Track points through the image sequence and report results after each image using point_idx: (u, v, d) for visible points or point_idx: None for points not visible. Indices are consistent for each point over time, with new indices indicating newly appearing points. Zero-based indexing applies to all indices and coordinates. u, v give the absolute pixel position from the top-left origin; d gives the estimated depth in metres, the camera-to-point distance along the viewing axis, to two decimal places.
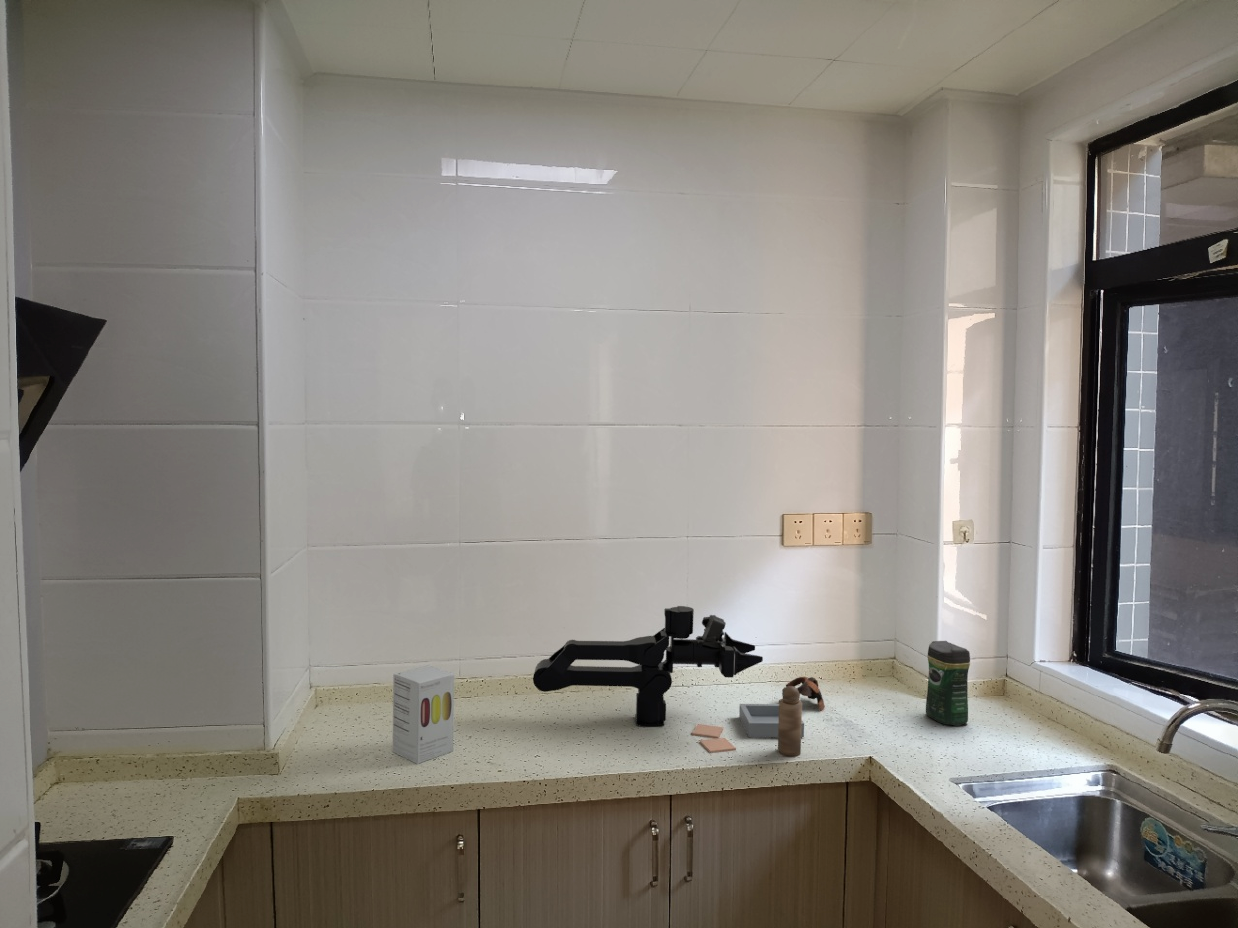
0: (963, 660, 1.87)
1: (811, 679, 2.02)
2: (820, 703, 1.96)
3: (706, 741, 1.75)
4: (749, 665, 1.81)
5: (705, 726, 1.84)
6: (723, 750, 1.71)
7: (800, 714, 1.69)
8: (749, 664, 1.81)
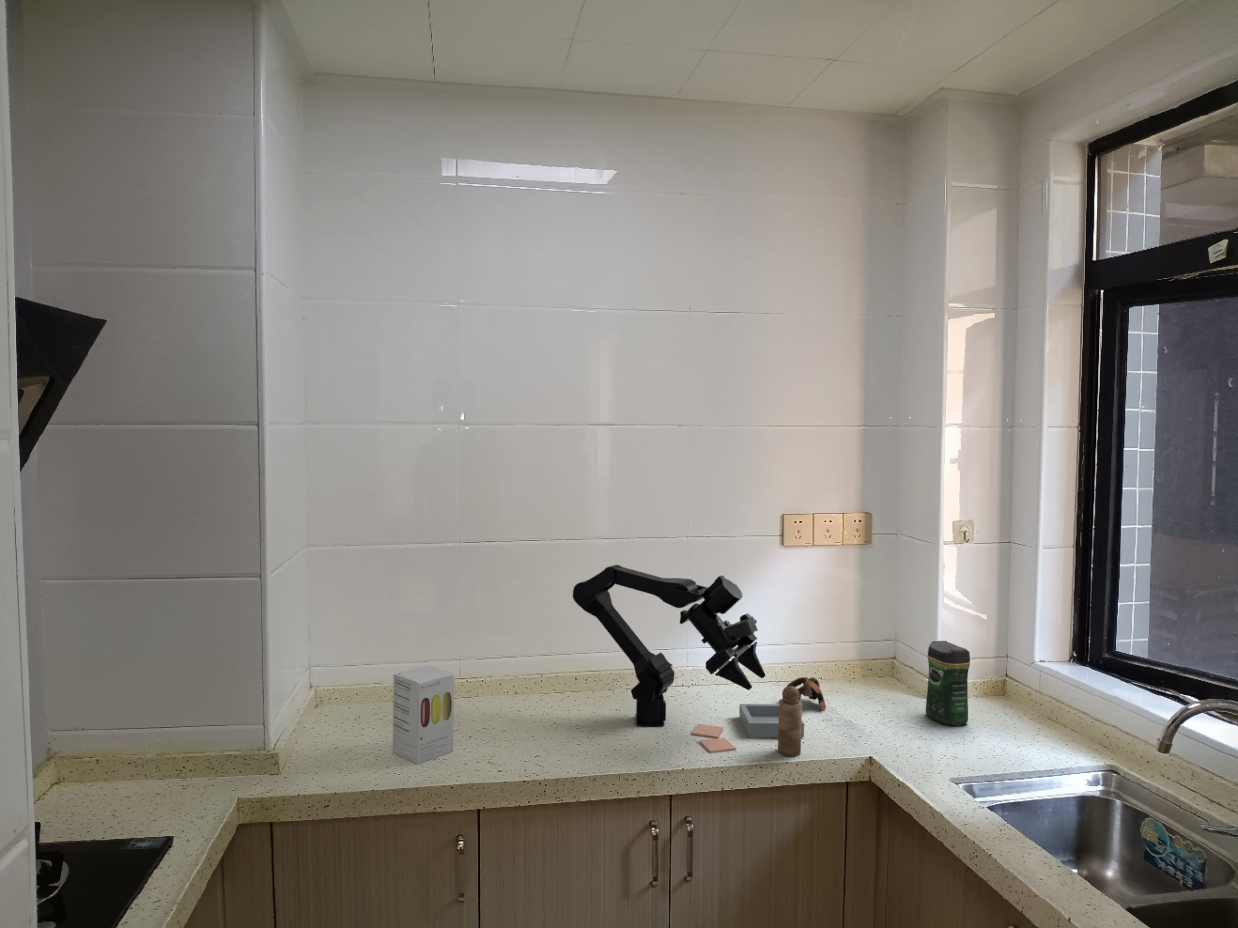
0: (963, 660, 1.87)
1: (812, 679, 2.02)
2: (821, 703, 1.96)
3: (706, 741, 1.75)
4: (734, 681, 1.70)
5: (705, 726, 1.84)
6: (723, 750, 1.71)
7: (800, 714, 1.69)
8: (735, 680, 1.70)
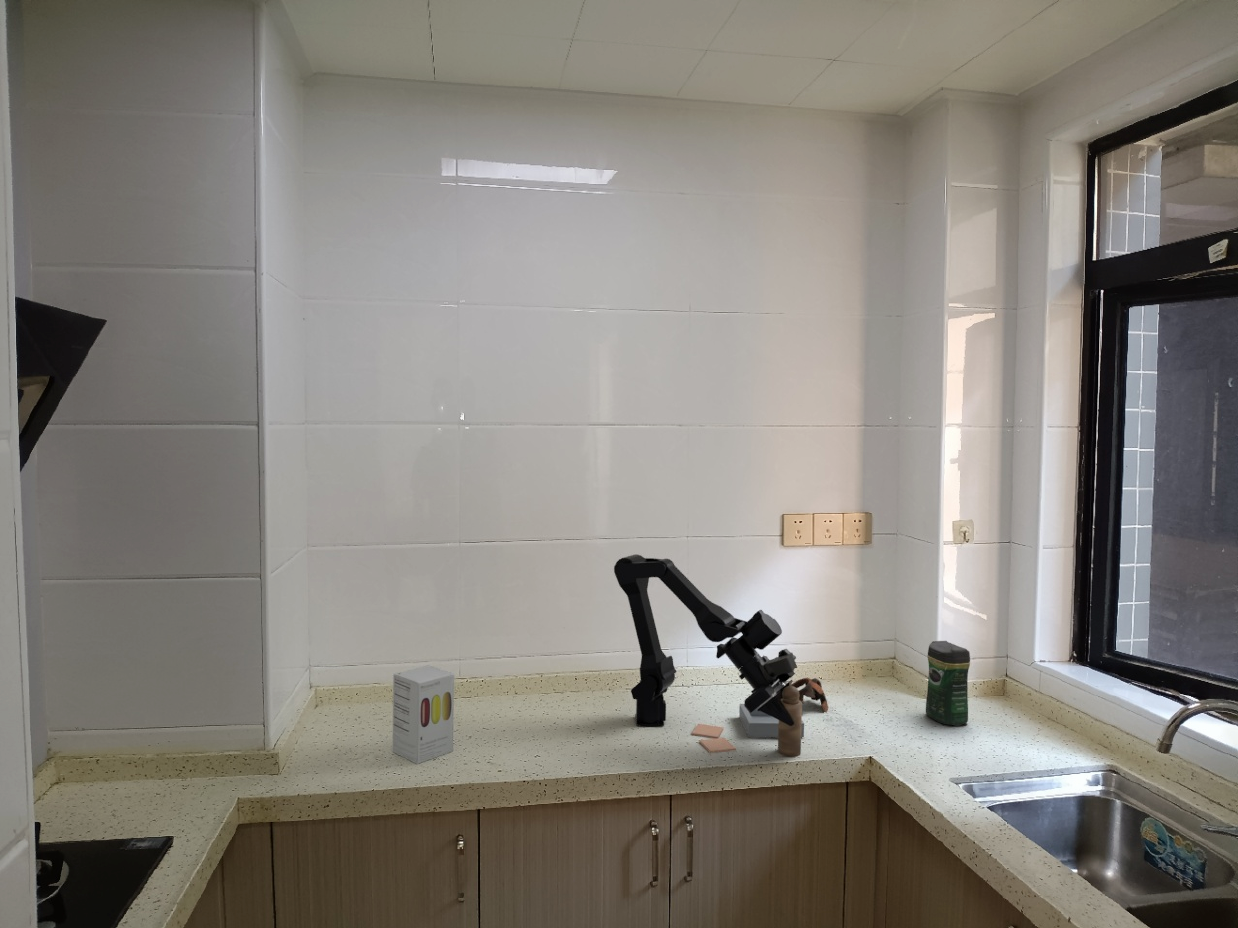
0: (963, 660, 1.87)
1: (814, 680, 2.02)
2: (824, 704, 1.95)
3: (706, 741, 1.75)
4: (777, 717, 1.68)
5: (705, 726, 1.84)
6: (723, 750, 1.71)
7: (800, 714, 1.69)
8: (777, 716, 1.68)
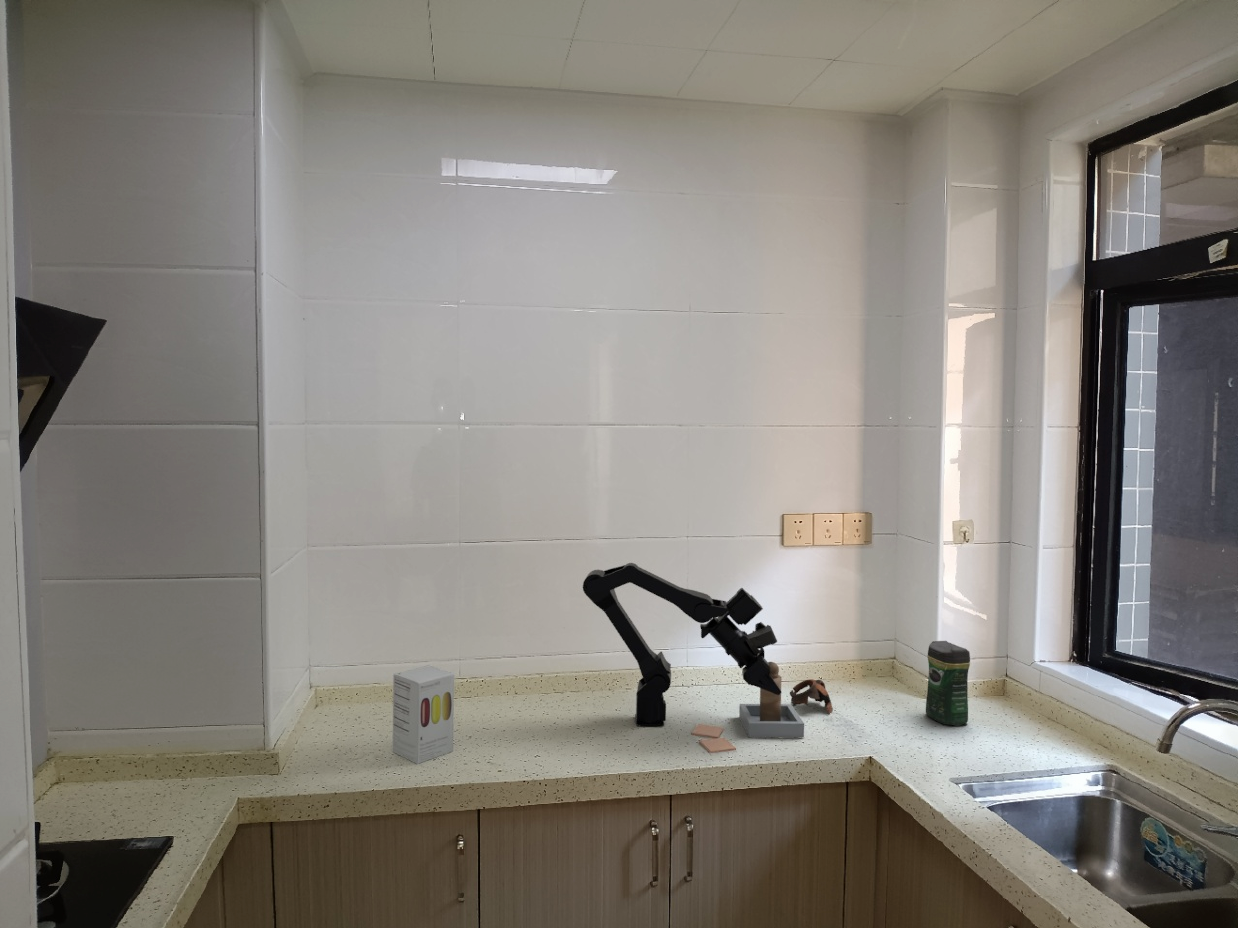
0: (963, 660, 1.87)
1: (818, 681, 2.01)
2: (828, 706, 1.94)
3: (705, 741, 1.75)
4: (766, 688, 1.79)
5: (705, 726, 1.84)
6: (723, 750, 1.71)
7: None
8: (767, 687, 1.79)
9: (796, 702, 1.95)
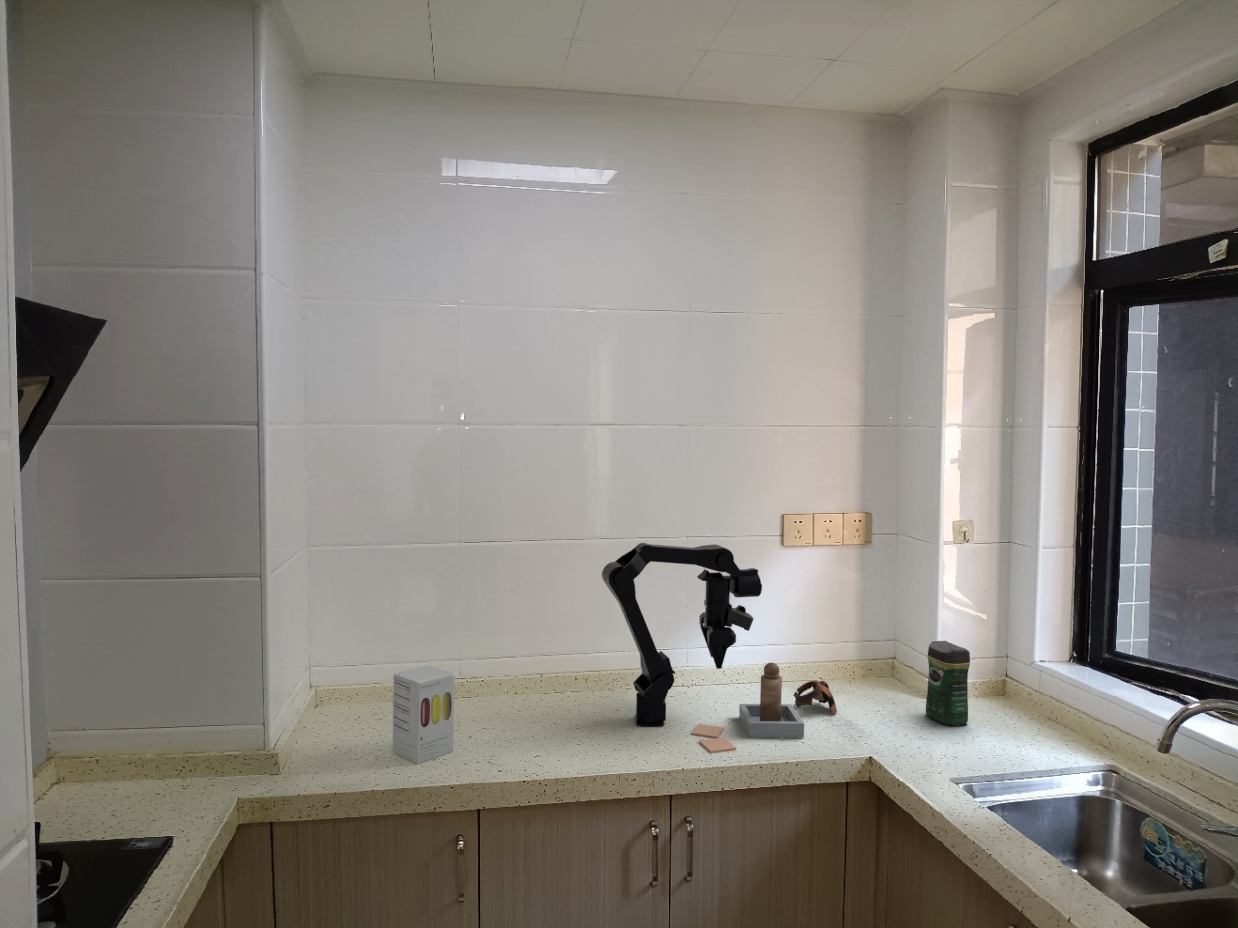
0: (963, 660, 1.87)
1: (822, 683, 2.00)
2: (833, 707, 1.93)
3: (705, 741, 1.75)
4: (714, 656, 1.85)
5: (705, 726, 1.84)
6: (724, 750, 1.71)
7: (781, 687, 1.84)
8: (715, 656, 1.85)
9: (800, 704, 1.94)
